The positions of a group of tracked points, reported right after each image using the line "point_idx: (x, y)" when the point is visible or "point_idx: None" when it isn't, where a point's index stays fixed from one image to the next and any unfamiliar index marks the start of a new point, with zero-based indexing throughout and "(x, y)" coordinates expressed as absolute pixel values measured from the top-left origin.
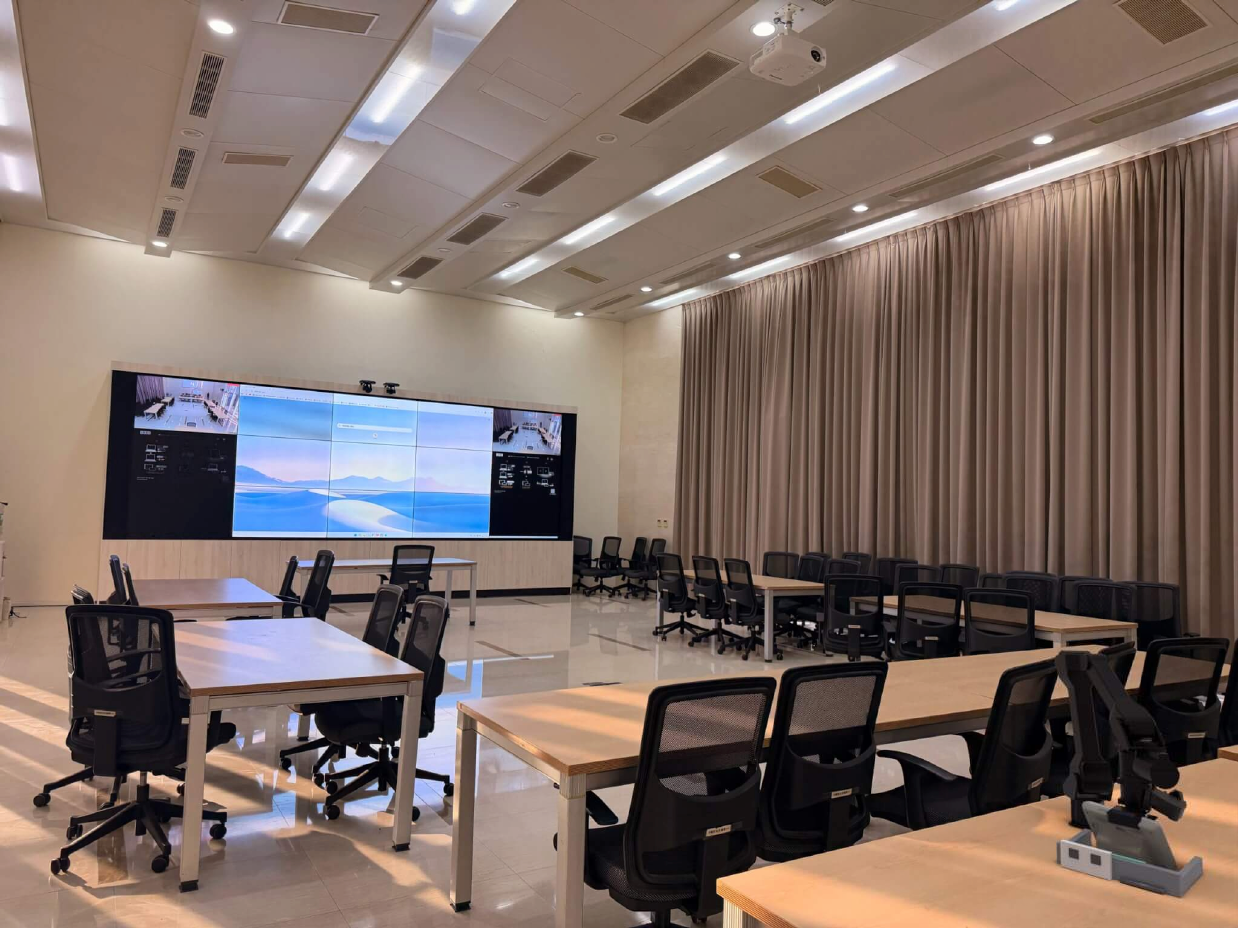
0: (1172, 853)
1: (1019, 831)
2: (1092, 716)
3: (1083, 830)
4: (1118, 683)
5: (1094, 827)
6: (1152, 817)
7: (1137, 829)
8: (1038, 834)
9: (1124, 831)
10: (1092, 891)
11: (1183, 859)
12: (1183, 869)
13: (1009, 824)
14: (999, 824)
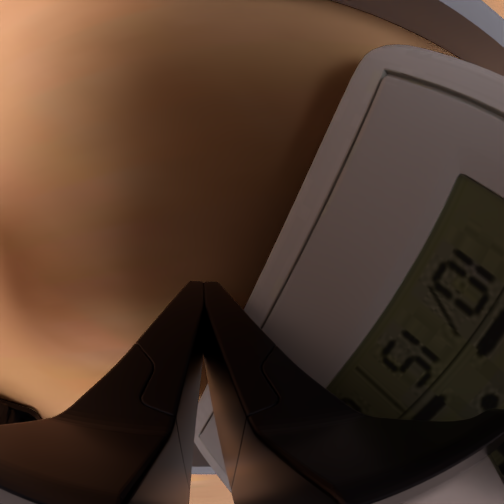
0: (479, 68)
1: (224, 488)
2: None
3: (195, 472)
4: None
5: None
6: (15, 501)
7: (486, 406)
8: (209, 476)
9: None
10: None
11: (8, 91)
12: (500, 39)
13: (193, 496)
14: (210, 500)
